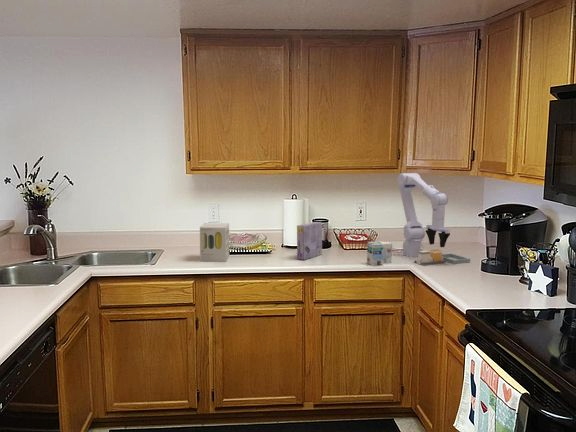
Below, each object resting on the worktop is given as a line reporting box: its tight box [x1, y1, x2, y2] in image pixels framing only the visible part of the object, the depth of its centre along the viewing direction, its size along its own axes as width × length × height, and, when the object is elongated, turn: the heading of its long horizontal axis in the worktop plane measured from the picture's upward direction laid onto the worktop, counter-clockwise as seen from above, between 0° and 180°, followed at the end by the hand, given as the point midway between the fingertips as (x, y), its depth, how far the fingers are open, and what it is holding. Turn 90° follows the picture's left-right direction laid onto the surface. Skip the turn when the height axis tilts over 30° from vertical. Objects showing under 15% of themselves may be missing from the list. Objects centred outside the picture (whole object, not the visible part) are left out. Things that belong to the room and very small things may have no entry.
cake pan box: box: [296, 221, 323, 261], centre depth 288 cm, size 19×5×18 cm, turn 146°
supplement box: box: [199, 222, 230, 263], centre depth 282 cm, size 13×13×18 cm
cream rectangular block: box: [417, 250, 430, 263], centre depth 271 cm, size 3×5×6 cm
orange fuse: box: [430, 248, 443, 262], centre depth 274 cm, size 3×5×6 cm
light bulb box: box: [366, 240, 393, 267], centre depth 273 cm, size 11×7×11 cm, turn 105°
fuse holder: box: [412, 257, 448, 267], centre depth 273 cm, size 9×14×4 cm, turn 114°
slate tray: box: [442, 252, 471, 265], centre depth 278 cm, size 14×10×3 cm
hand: (436, 245), depth 273 cm, fingers open, 7 cm apart
